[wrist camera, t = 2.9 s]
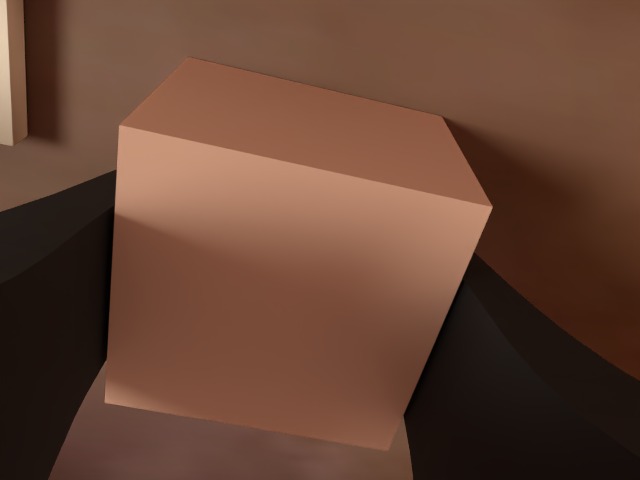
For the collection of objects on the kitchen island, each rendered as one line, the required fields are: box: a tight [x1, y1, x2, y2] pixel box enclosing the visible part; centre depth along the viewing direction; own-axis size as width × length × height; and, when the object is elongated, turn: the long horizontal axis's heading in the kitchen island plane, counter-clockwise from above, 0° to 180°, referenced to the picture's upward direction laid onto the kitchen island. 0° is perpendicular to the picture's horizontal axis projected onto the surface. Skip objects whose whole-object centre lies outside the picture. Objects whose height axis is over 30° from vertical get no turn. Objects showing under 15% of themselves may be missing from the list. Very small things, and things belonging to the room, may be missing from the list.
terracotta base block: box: [105, 57, 493, 451], centre depth 10 cm, size 5×5×4 cm
